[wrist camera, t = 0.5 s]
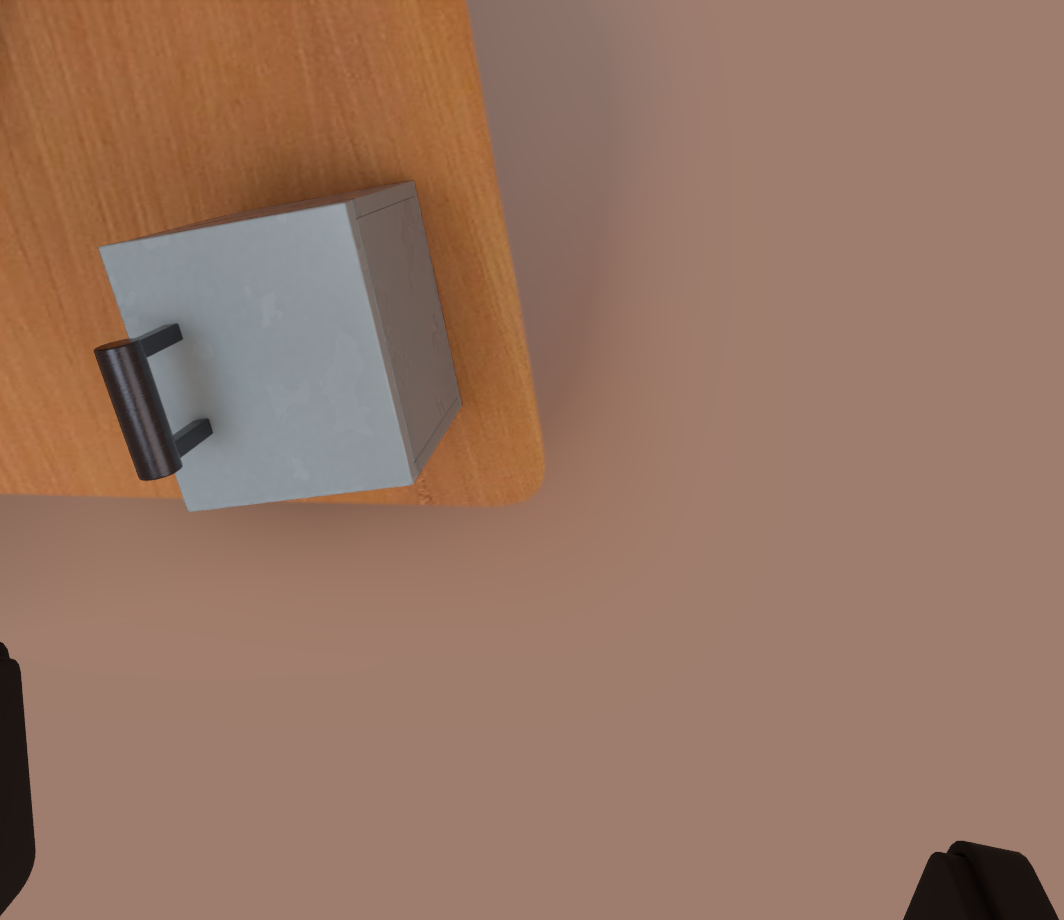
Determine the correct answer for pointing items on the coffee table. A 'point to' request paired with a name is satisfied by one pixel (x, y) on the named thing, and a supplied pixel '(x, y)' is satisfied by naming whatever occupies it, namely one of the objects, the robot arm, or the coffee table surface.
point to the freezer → (397, 304)
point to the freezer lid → (254, 361)
